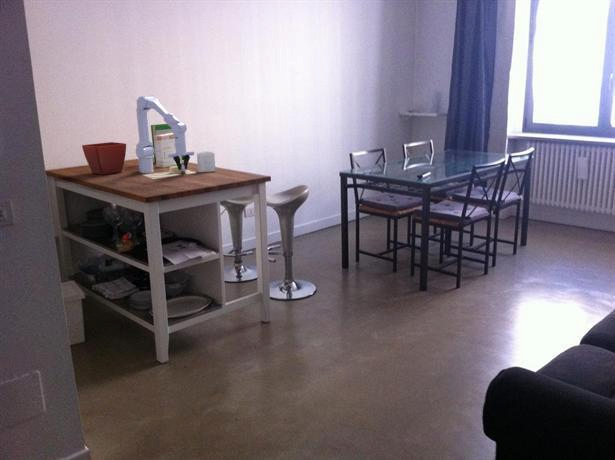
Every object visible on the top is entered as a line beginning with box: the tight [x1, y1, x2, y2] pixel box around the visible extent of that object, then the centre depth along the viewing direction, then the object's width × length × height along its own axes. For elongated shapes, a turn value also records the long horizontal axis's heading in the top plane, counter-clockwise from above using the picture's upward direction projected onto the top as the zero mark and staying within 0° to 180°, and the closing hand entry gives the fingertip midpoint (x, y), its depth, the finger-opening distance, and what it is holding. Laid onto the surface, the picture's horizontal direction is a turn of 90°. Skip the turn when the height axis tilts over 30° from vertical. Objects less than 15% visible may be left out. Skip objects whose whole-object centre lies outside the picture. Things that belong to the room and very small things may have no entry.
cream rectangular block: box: [168, 165, 187, 174], centre depth 340 cm, size 5×8×4 cm, turn 124°
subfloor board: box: [142, 169, 197, 180], centre depth 337 cm, size 18×26×1 cm
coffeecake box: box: [154, 133, 183, 168], centre depth 372 cm, size 15×7×20 cm, turn 144°
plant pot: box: [81, 141, 127, 176], centre depth 353 cm, size 19×19×17 cm
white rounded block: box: [196, 149, 216, 173], centre depth 342 cm, size 10×4×12 cm, turn 126°
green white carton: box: [150, 123, 184, 163], centre depth 390 cm, size 18×7×24 cm, turn 126°
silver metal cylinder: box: [180, 162, 186, 174], centre depth 334 cm, size 3×3×6 cm
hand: (182, 169), depth 335 cm, fingers open, 3 cm apart
